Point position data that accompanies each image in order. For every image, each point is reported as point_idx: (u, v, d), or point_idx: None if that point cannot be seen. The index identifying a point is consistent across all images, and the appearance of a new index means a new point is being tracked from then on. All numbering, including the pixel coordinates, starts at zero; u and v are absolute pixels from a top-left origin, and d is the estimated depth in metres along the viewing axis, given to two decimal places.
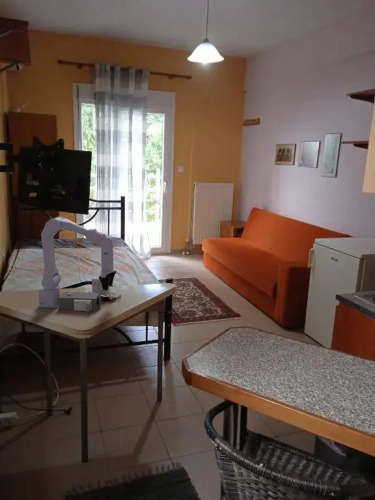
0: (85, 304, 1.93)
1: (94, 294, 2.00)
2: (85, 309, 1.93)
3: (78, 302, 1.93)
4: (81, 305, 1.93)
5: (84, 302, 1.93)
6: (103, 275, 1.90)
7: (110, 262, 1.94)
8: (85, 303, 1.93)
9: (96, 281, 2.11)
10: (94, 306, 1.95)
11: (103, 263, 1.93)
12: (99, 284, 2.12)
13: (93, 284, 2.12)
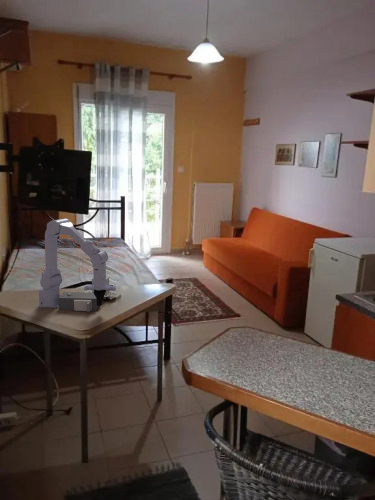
0: (85, 304, 1.93)
1: None
2: (85, 309, 1.93)
3: (78, 302, 1.93)
4: (81, 305, 1.93)
5: (84, 302, 1.93)
6: None
7: (94, 278, 1.86)
8: (85, 303, 1.93)
9: None
10: (94, 306, 1.95)
11: None
12: None
13: (93, 284, 2.12)
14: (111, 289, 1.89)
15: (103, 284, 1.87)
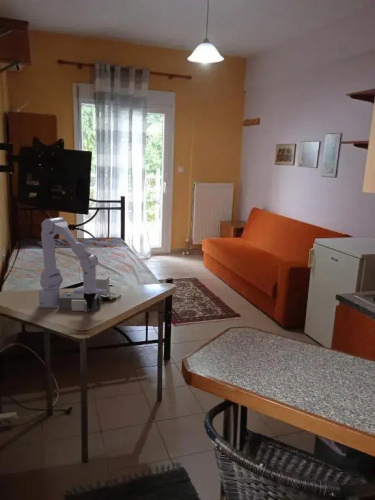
0: (82, 304, 1.93)
1: None
2: (82, 309, 1.93)
3: (75, 302, 1.93)
4: (79, 305, 1.93)
5: (81, 302, 1.93)
6: None
7: (84, 282, 1.86)
8: (82, 303, 1.93)
9: (96, 281, 2.11)
10: (94, 306, 1.95)
11: None
12: (99, 284, 2.12)
13: None
14: (101, 292, 1.89)
15: (93, 288, 1.87)
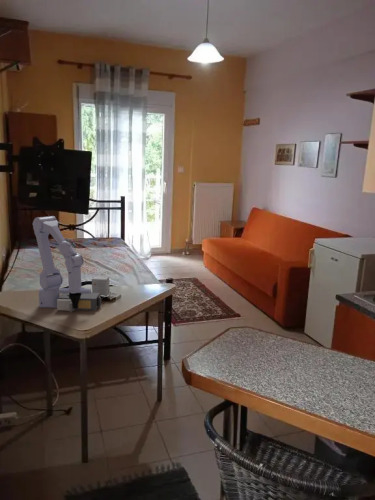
0: (68, 304, 1.93)
1: (94, 294, 2.00)
2: (68, 309, 1.93)
3: (61, 302, 1.93)
4: (64, 305, 1.93)
5: (67, 302, 1.93)
6: None
7: (69, 282, 1.86)
8: (68, 303, 1.93)
9: (96, 281, 2.11)
10: (94, 306, 1.95)
11: None
12: (99, 284, 2.12)
13: (93, 284, 2.12)
14: (86, 292, 1.89)
15: (78, 287, 1.87)
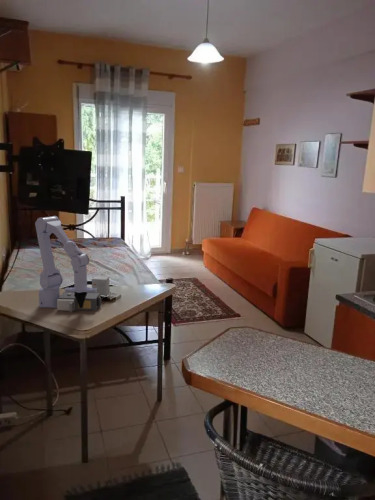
0: (68, 304, 1.93)
1: (94, 294, 2.00)
2: (68, 309, 1.93)
3: (61, 302, 1.93)
4: (64, 305, 1.93)
5: (67, 302, 1.93)
6: None
7: (75, 281, 1.86)
8: (68, 303, 1.93)
9: (96, 281, 2.11)
10: (94, 306, 1.95)
11: None
12: (99, 284, 2.12)
13: (93, 284, 2.12)
14: (92, 291, 1.89)
15: (84, 286, 1.87)
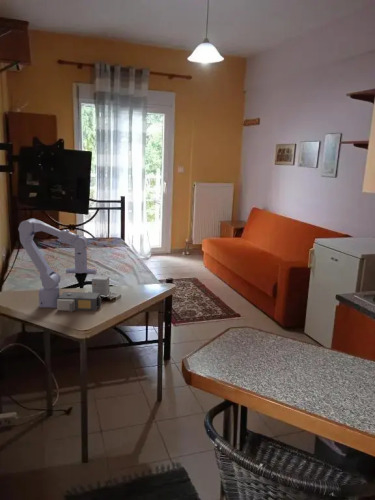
0: (68, 304, 1.93)
1: (94, 294, 2.00)
2: (68, 309, 1.93)
3: (61, 302, 1.93)
4: (64, 305, 1.93)
5: (67, 302, 1.93)
6: None
7: (75, 262, 1.94)
8: (68, 303, 1.93)
9: (96, 281, 2.11)
10: (94, 306, 1.95)
11: None
12: (99, 284, 2.12)
13: (93, 284, 2.12)
14: (92, 272, 1.97)
15: (84, 267, 1.95)
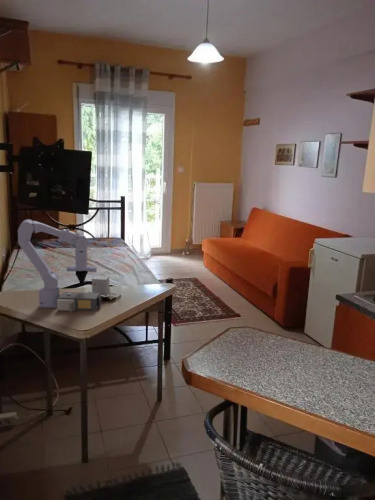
0: (68, 304, 1.93)
1: (94, 294, 2.00)
2: (68, 309, 1.93)
3: (61, 302, 1.93)
4: (64, 305, 1.93)
5: (67, 302, 1.93)
6: None
7: (76, 260, 1.98)
8: (68, 303, 1.93)
9: (96, 281, 2.11)
10: (94, 306, 1.95)
11: None
12: (99, 284, 2.12)
13: (93, 284, 2.12)
14: (92, 270, 2.01)
15: (84, 265, 1.99)
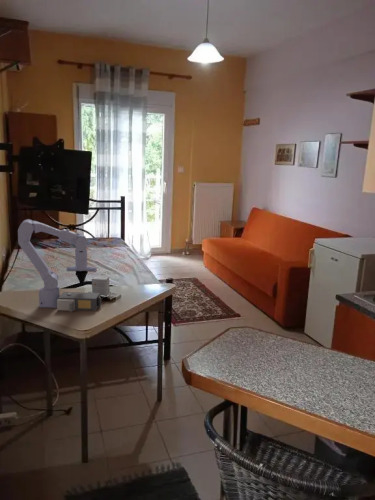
0: (68, 304, 1.93)
1: (94, 294, 2.00)
2: (68, 309, 1.93)
3: (61, 302, 1.93)
4: (64, 305, 1.93)
5: (67, 302, 1.93)
6: None
7: (76, 260, 1.98)
8: (68, 303, 1.93)
9: (96, 281, 2.11)
10: (94, 306, 1.95)
11: None
12: (99, 284, 2.12)
13: (93, 284, 2.12)
14: (92, 270, 2.01)
15: (84, 265, 1.99)
